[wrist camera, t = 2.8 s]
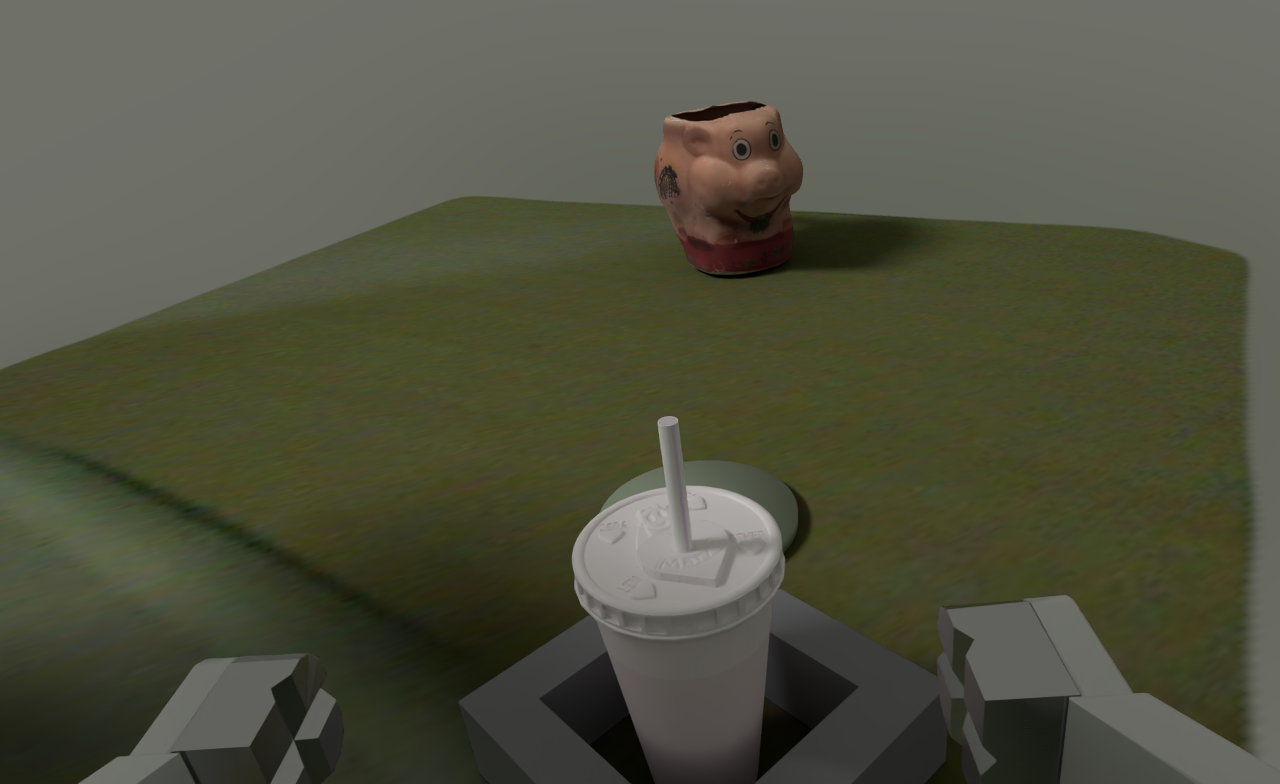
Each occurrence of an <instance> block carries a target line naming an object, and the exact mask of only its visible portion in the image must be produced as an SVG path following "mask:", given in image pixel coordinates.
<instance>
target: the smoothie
mask: <svg viewBox="0 0 1280 784" xmlns="http://www.w3.org/2000/svg"><path fill="white" fill-rule="evenodd" d="M658 429H659V437H660V444H661V452H662V459H663V467H664V474H665V482H666V487H664V488H659V489H654V490H649V491H646V492H642V493H639V494H636V495H633V496H630V497H628V498H626V499H623V500H621V501H619V502H617V503H615V504H613V505H612V506H610V507H608V508H607V509H605V510H603V511H602V512H601V513H600V514H598V515H597V516H596V517H595V518H594V519H592V520H591V521H590V522H589V523H588V524H587V526H586V527H585V528H584V529H583V530H582V532H581V533H580V535H579V537H578V538H577V540H576V543H575V545H574V548H573V553H572V565H573V570H574V575H575V583H574V589H575V591H576V594H577V596H578V598H579V601H580V603H581V606H582V607H583V608H584V609H585V610H586V611H587V612H588V613H589V614H590V615H591V616H592V617H593V618H594V619H595V620H596V621H597V623H598V626H599V629H600V632H601V635H602V639H603V641H604V644H605V646H606V648H607V651H608V654H609V657H610V660H611V662H612V665H613V668H614V671H615V674H616V676H617V679H618V682H619V685H620V688H621V690H622V693H623V696H624V699H625V702H626V704H627V707H628V710H629V713H630V716H631V718H632V721H633V724H634V727H635V730H636V733H637V735H638V738H639V741H640V744H641V747H642V749H643V752H644V755H645V758H646V761H647V763H648V766H649V769H650V772H651V775H652V777H653V780H654V783H655V784H755V783H756V780H757V776H758V767H759V755H760V743H761V731H762V719H763V707H764V695H765V682H766V670H767V658H768V646H769V634H770V624H771V615H772V599H773V598H774V596H775V594H776V592H777V590H778V588H779V587H780V585H781V583H782V581H783V579H784V569H785V557H784V554H783V551H782V538H781V533H780V529H779V527H778V525H777V523H776V521H775V520H774V518H773V517H772V516H771V514H770V513H769V512H768V511H767V510H766V509H764V508H763V507H762V506H761V505H759V504H758V503H756V502H754V501H753V500H751V499H749V498H747V497H745V496H742V495H740V494H738V493H735V492H731V491H728V490H724V489H721V488H714V487H707V486H686V483H685V475H684V467H683V458H682V450H681V442H680V433H679V425H678V419H677V418H676V417H672V416H668V417H663V418H661V419H659V420H658Z"/></svg>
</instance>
